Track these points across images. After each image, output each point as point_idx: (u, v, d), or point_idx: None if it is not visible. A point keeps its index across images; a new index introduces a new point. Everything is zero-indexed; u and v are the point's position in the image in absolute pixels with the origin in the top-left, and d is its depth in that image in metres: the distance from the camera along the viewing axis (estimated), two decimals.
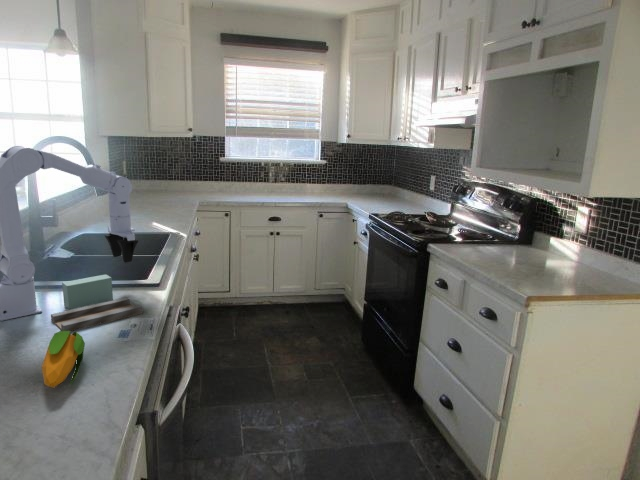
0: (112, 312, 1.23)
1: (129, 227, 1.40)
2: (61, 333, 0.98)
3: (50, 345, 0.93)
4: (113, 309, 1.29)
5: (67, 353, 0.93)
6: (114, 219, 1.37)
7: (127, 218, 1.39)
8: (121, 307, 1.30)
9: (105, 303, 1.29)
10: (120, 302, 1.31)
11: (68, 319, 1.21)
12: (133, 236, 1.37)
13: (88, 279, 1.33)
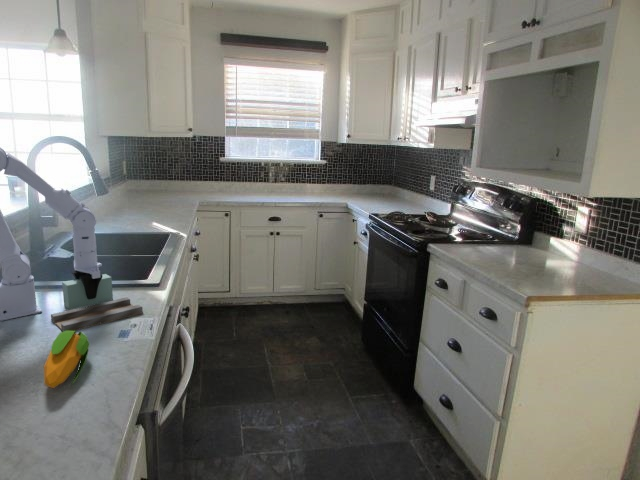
0: (112, 312, 1.23)
1: (95, 263, 1.31)
2: (65, 333, 0.98)
3: (53, 345, 0.93)
4: (113, 309, 1.29)
5: (69, 353, 0.93)
6: (78, 255, 1.28)
7: (92, 253, 1.30)
8: (121, 307, 1.30)
9: (105, 303, 1.29)
10: (120, 302, 1.31)
11: (68, 319, 1.21)
12: (99, 273, 1.27)
13: None
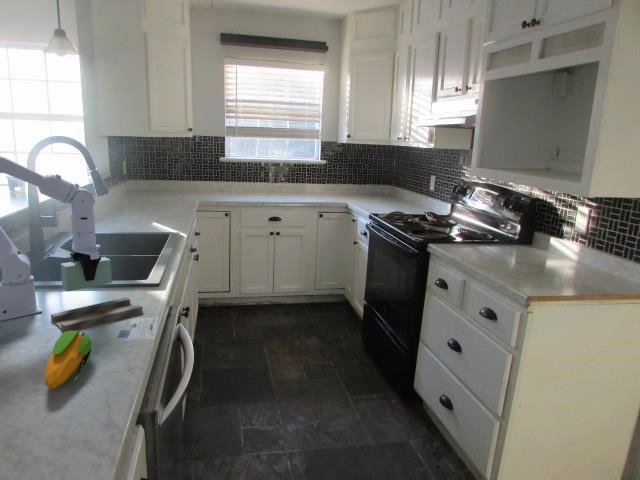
0: (112, 312, 1.23)
1: (94, 244, 1.30)
2: (68, 333, 0.98)
3: (55, 345, 0.93)
4: (113, 309, 1.29)
5: (71, 353, 0.93)
6: (77, 236, 1.27)
7: (91, 234, 1.28)
8: (121, 307, 1.30)
9: (105, 303, 1.29)
10: (120, 302, 1.31)
11: (68, 319, 1.21)
12: (97, 254, 1.26)
13: None
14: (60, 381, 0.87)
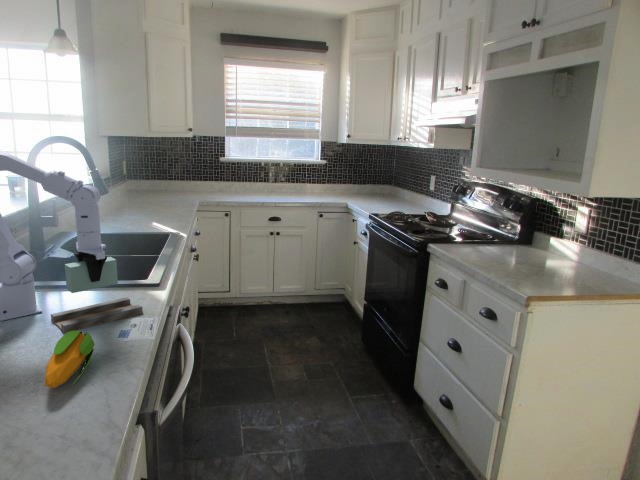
0: (112, 312, 1.23)
1: (99, 243, 1.24)
2: (71, 333, 0.98)
3: (56, 345, 0.93)
4: (113, 309, 1.29)
5: (72, 353, 0.93)
6: (81, 235, 1.21)
7: (96, 233, 1.23)
8: (121, 307, 1.30)
9: (105, 303, 1.29)
10: (120, 302, 1.31)
11: (68, 319, 1.21)
12: (103, 254, 1.21)
13: None
14: (60, 381, 0.87)
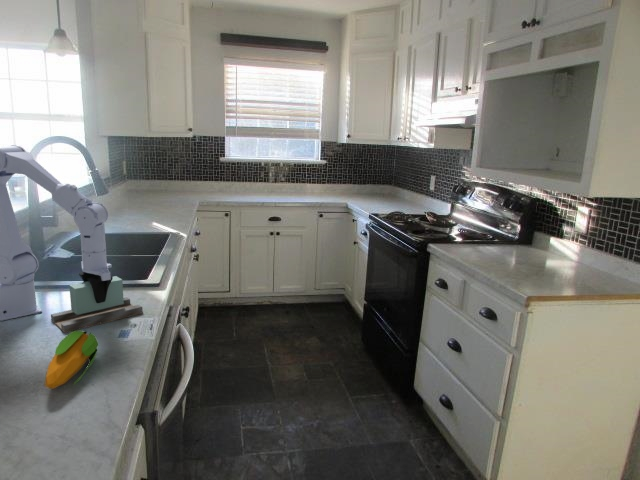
0: (112, 312, 1.23)
1: (104, 264, 1.21)
2: (74, 333, 0.98)
3: (59, 345, 0.93)
4: (113, 309, 1.29)
5: (74, 354, 0.93)
6: (86, 255, 1.18)
7: (102, 253, 1.20)
8: (121, 307, 1.30)
9: None
10: None
11: (68, 319, 1.21)
12: (109, 275, 1.17)
13: None
14: (60, 382, 0.87)
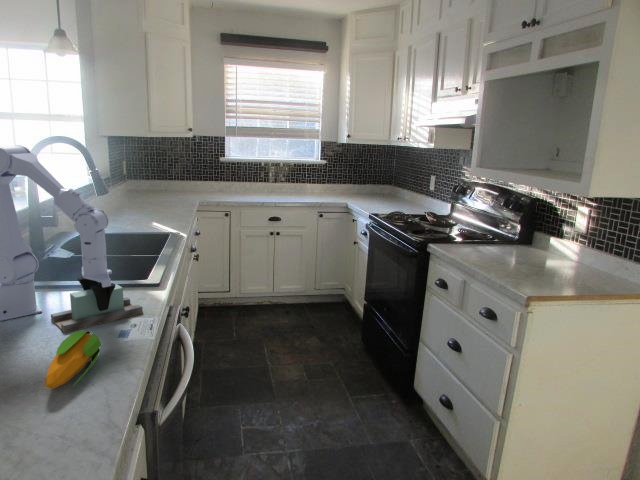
0: (112, 312, 1.23)
1: (105, 270, 1.21)
2: (77, 333, 0.98)
3: (60, 344, 0.93)
4: None
5: (75, 354, 0.93)
6: (87, 262, 1.18)
7: (102, 260, 1.20)
8: None
9: None
10: None
11: (68, 319, 1.21)
12: (109, 281, 1.18)
13: None
14: (59, 382, 0.87)
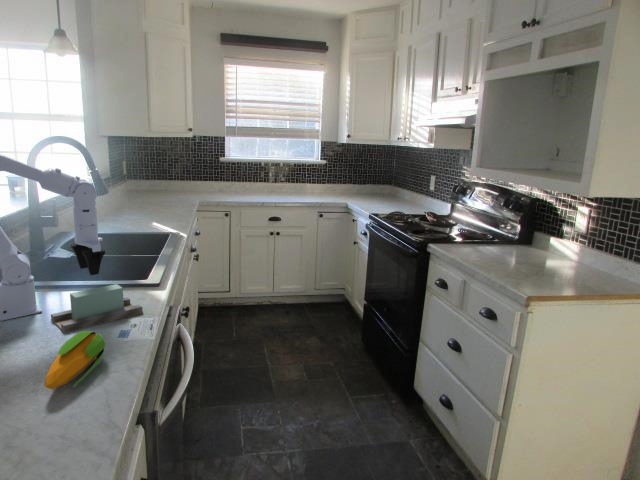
0: (112, 312, 1.23)
1: (96, 237, 1.30)
2: (81, 333, 0.98)
3: (63, 345, 0.93)
4: None
5: (77, 354, 0.93)
6: (79, 228, 1.27)
7: (93, 227, 1.28)
8: None
9: None
10: None
11: (68, 319, 1.21)
12: (99, 246, 1.26)
13: (98, 289, 1.23)
14: (59, 383, 0.87)
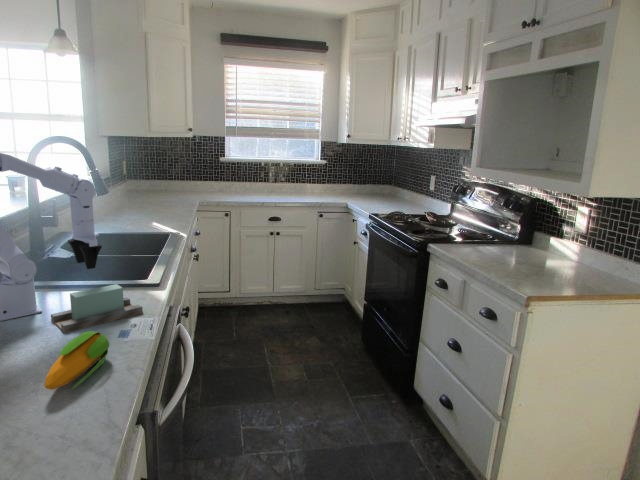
0: (112, 312, 1.23)
1: (92, 232, 1.35)
2: (85, 334, 0.98)
3: (66, 345, 0.93)
4: None
5: (79, 355, 0.93)
6: (76, 224, 1.32)
7: (90, 223, 1.33)
8: None
9: None
10: None
11: (68, 319, 1.21)
12: (96, 241, 1.31)
13: (98, 289, 1.23)
14: (58, 383, 0.87)
